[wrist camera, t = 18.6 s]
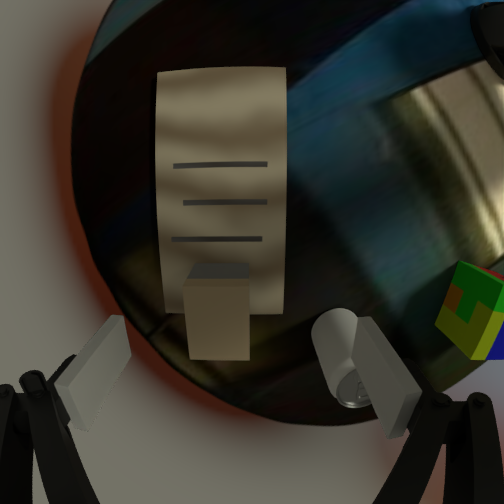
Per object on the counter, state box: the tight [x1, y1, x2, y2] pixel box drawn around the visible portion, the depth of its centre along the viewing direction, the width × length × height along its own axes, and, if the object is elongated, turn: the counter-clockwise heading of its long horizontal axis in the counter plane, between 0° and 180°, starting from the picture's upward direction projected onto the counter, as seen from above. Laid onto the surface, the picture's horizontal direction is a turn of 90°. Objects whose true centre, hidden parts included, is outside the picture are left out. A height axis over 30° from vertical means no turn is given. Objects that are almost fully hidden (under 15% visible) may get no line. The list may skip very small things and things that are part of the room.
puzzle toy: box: [434, 261, 504, 360], centre depth 32 cm, size 10×10×10 cm
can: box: [311, 308, 371, 408], centre depth 31 cm, size 6×6×12 cm
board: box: [155, 67, 287, 314], centre depth 32 cm, size 28×14×1 cm, turn 0°
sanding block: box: [182, 263, 250, 360], centre depth 31 cm, size 8×6×7 cm
